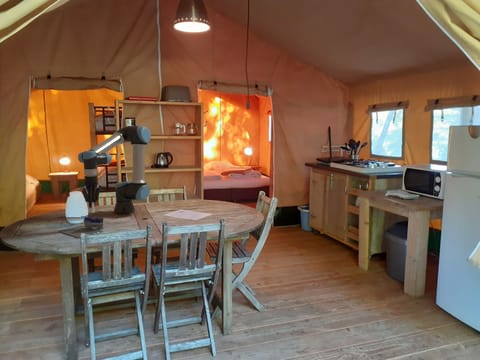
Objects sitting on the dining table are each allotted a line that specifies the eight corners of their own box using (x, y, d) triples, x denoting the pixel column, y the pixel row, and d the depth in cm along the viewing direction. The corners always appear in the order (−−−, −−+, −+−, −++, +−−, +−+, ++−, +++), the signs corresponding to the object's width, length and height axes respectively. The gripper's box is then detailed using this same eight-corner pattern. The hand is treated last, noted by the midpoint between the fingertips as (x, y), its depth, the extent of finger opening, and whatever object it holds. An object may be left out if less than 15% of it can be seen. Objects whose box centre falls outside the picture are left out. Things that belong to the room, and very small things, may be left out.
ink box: (84, 227, 235) (83, 220, 226) (85, 224, 236) (83, 216, 227) (103, 228, 238) (103, 221, 229) (104, 225, 239) (103, 217, 230)
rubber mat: (82, 226, 242) (82, 225, 242) (102, 231, 230) (102, 231, 230) (58, 231, 230) (58, 230, 229) (78, 238, 217) (78, 237, 217)
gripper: (84, 177, 224) (86, 215, 228) (103, 174, 235) (105, 211, 238) (77, 176, 229) (79, 213, 232) (96, 173, 239) (98, 209, 243)
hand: (92, 212), depth 235 cm, fingers closed
